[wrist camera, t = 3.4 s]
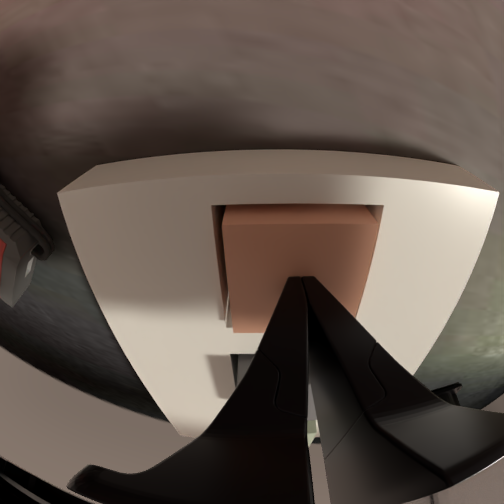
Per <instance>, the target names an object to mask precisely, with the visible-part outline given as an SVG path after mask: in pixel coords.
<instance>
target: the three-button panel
mask: <svg viewBox="0 0 504 504" xmlns="http://www.w3.org/2000/svg"><path fill="white" fill-rule="evenodd" d="M57 195H58V198H59V202H60V205H61V209H62V212H63V215H64V218H65V221H66V224H67V227H68V230H69V233H70V236H71V239H72V242H73V244H74V247H75V250H76V252H77V255H78V258H79V260H80V263H81V265H82V268H83V270H84V272H85V275H86V277H87V279H88V282H89V284H90V286H91V289H92V291H93V293H94V295H95V297H96V299H97V302H98V304H99V306H100V308H101V310H102V312H103V314H104V316H105V318H106V320H107V322H108V324H109V326H110V328H111V330H112V331H113V333H114V335H115V337H116V339H117V341H118V342H119V344H120V346H121V348H122V350H123V351H124V353H125V355H126V356H127V358H128V360H129V361H130V363H131V365H132V366H133V368H134V370H135V371H136V373H137V375H138V376H139V378H140V379H141V381H142V382H143V384H144V385H145V387H146V388H147V390H148V391H149V393H150V394H151V396H152V397H153V399H154V400H155V402H156V403H157V405H158V406H159V407H160V409H161V410H162V412H163V413H164V414H165V416H166V417H167V418H168V420H169V421H170V422H171V424H172V425H173V426H174V428H175V429H176V430H177V431H178V433H179V434H180V435H181V436H188V437H198V436H199V435H201V434H202V433H203V432H204V431H205V430H206V428H207V427H208V426H209V425H210V424H211V422H212V421H213V420H214V419H215V417H216V416H217V414H218V413H219V412H220V410H221V409H222V407H223V406H224V405H225V403H226V402H227V400H228V399H229V397H230V396H231V395H232V393H233V392H234V390H235V389H236V387H237V374H238V356H239V354H255V352H256V350H257V348H258V346H259V344H260V341H261V339H262V337H263V335H264V333H233V326H232V318H231V309H230V300H229V291H228V282H227V273H226V263H225V253H224V243H223V233H222V222H223V217H224V213H225V205H231V204H287V203H310V204H364V205H365V206H366V208H367V209H368V210H369V212H370V213H371V214H372V216H373V217H374V218H375V220H376V221H377V222H378V224H379V225H378V230H377V235H376V240H375V244H374V248H373V253H372V257H371V261H370V265H369V269H368V273H367V277H366V281H365V284H364V288H363V292H362V295H361V299H360V302H359V305H358V309H357V312H356V315H355V318H356V319H357V320H358V322H359V323H360V324H361V325H362V326H363V327H364V328H365V329H366V330H367V331H368V332H369V333H370V334H371V335H372V336H373V337H374V338H375V339H376V342H379V343H380V345H381V346H382V347H383V348H384V349H385V350H386V351H387V352H388V353H389V354H390V355H391V356H392V357H393V358H394V359H395V360H396V361H397V362H398V363H399V364H400V365H402V366H403V367H404V368H405V369H406V370H407V371H408V372H409V373H411V374H412V375H413V374H414V373H415V371H416V370H417V369H418V367H419V366H420V364H421V363H422V361H423V360H424V358H425V357H426V355H427V354H428V352H429V351H430V349H431V348H432V346H433V344H434V343H435V341H436V339H437V338H438V336H439V335H440V333H441V331H442V329H443V328H444V326H445V324H446V322H447V321H448V319H449V317H450V315H451V313H452V312H453V310H454V308H455V306H456V304H457V302H458V300H459V298H460V296H461V294H462V292H463V290H464V288H465V286H466V284H467V281H468V279H469V277H470V275H471V273H472V270H473V268H474V266H475V263H476V261H477V258H478V256H479V253H480V251H481V248H482V246H483V243H484V240H485V237H486V235H487V232H488V229H489V226H490V223H491V220H492V217H493V213H494V210H495V207H496V203H497V199H498V196H499V192H498V191H497V190H495V189H494V188H493V187H491V186H490V185H488V184H487V183H485V182H484V181H482V180H481V179H479V178H478V177H476V176H474V175H473V174H471V173H470V172H468V171H466V170H465V169H463V168H461V167H460V166H457V165H451V164H446V163H440V162H434V161H428V160H421V159H414V158H407V157H399V156H390V155H381V154H370V153H359V152H344V151H326V150H293V149H264V150H230V151H212V152H197V153H185V154H174V155H165V156H156V157H148V158H140V159H133V160H126V161H119V162H113V163H107V164H101V165H96V166H95V167H93V168H92V169H90V170H89V171H87V172H86V173H84V174H83V175H81V176H80V177H78V178H77V179H76V180H74V181H73V182H71V183H70V184H69V185H67V186H66V187H64V188H63V189H62V190H60V191H59V192H58V193H57ZM316 429H317V434H316V435H315V437H320V433H319V428H318V422H317V420H316Z"/></svg>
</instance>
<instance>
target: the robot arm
mask: <svg viewBox="0 0 504 504" xmlns="http://www.w3.org/2000/svg"><path fill="white" fill-rule="evenodd" d="M309 379H310V384H311V390H312V395H313V400H314V406H315V411H316V416H317V422H318V428H319V433H320V439H321V445H322V451H323V457H324V463H325V469H326V476H327V482H328V488H329V495H330V502H331V504H504V413H497V412H490V411H484V410H478V409H472V408H466V407H461V406H460V404H459V401H458V398H457V395H456V393H457V392H458V391H459V390H460V389H461V388H462V384H457V385H455V386H451V387H448V388H445V389H442V390H439V391H435V392H431V391H430V390H429V389H428V388H427V387H426V386H424V385H423V384H422V383H421V382H420V381H419V380H417V379H416V378H415V377H414V376H413V375H412V374H411V373H409V372H408V371H407V370H406V369H405V368H404V367H403V366H402V365H400V364H399V363H398V362H397V361H396V360H395V359H394V358H393V357H392V356H391V355H390V354H389V353H388V352H387V351H386V350H385V349H384V348H383V347H382V346H381V345H380V343H379V342H376V339H375V338H374V337H373V336H372V335H371V334H370V333H369V332H368V331H367V330H366V329H365V328H364V327H363V326H362V325H361V324H360V323H359V322H358V320H357V319H356V318H355V317H354V316H353V315H352V314H351V313H350V312H349V311H348V310H347V309H346V308H345V307H344V306H343V305H342V304H341V303H340V302H339V301H338V300H337V299H336V298H335V297H334V296H333V295H332V294H331V293H330V292H329V291H328V290H327V289H326V288H325V287H324V285H323V284H322V283H321V282H320V281H319V280H318V279H317V278H316V277H314V276H303V277H302V278H301V277H300V276H291V277H288V278H287V280H286V283H285V285H284V288H283V290H282V293H281V295H280V297H279V300H278V302H277V304H276V307H275V309H274V311H273V314H272V316H271V318H270V321H269V323H268V325H267V328H266V330H265V332H264V335H263V337H262V339H261V341H260V344H259V346H258V348H257V350H256V352H255V354H254V357H253V359H252V361H251V363H250V365H249V367H248V369H247V371H246V373H245V374H244V376H243V378H242V379H241V381H240V382H239V384H238V386H237V387H236V389H235V390H234V392H233V393H232V395H231V396H230V397H229V399H228V400H227V402H226V403H225V405H224V406H223V407H222V409H221V410H220V412H219V413H218V414H217V416H216V417H215V419H214V420H213V421H212V422H211V424H210V425H209V426H208V427H207V428H206V430H205V431H204V432H203V433H202V434H201V435H199V436H198V437H197V438H196V439H194V440H193V441H192V442H190V443H189V444H187V445H186V446H184V447H183V448H182V449H180V450H178V451H177V452H175V453H174V454H173V455H171V456H169V457H168V458H166V459H165V460H163V461H162V462H160V463H159V464H157V465H155V466H154V467H152V468H150V469H148V470H146V471H143V472H140V473H133V474H126V473H120V472H117V471H113V470H110V469H106V468H103V467H100V466H96V465H87V466H86V467H85V468H83V469H82V470H81V471H79V472H78V473H77V474H76V475H74V477H73V478H72V479H71V480H70V481H69V483H68V484H67V488H68V489H70V490H71V491H73V492H75V493H78V494H80V495H82V496H84V497H87V498H89V499H91V500H94V501H97V502H99V503H102V504H315V503H314V492H313V482H312V474H311V464H310V456H309V447H308V437H307V423H308V420H307V418H308V387H309ZM0 504H95V503H92V502H89V501H87V500H84V499H82V498H80V497H78V496H75V495H73V494H71V493H69V492H66V491H64V490H63V489H60V488H58V487H56V486H54V485H53V484H51V483H49V482H47V481H45V480H43V479H41V478H39V477H37V476H36V475H33V474H32V473H30V472H28V471H26V470H25V469H23V468H21V467H19V466H17V465H16V464H14V463H12V462H10V461H9V460H7V459H5V458H4V457H2V456H0Z"/></svg>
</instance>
